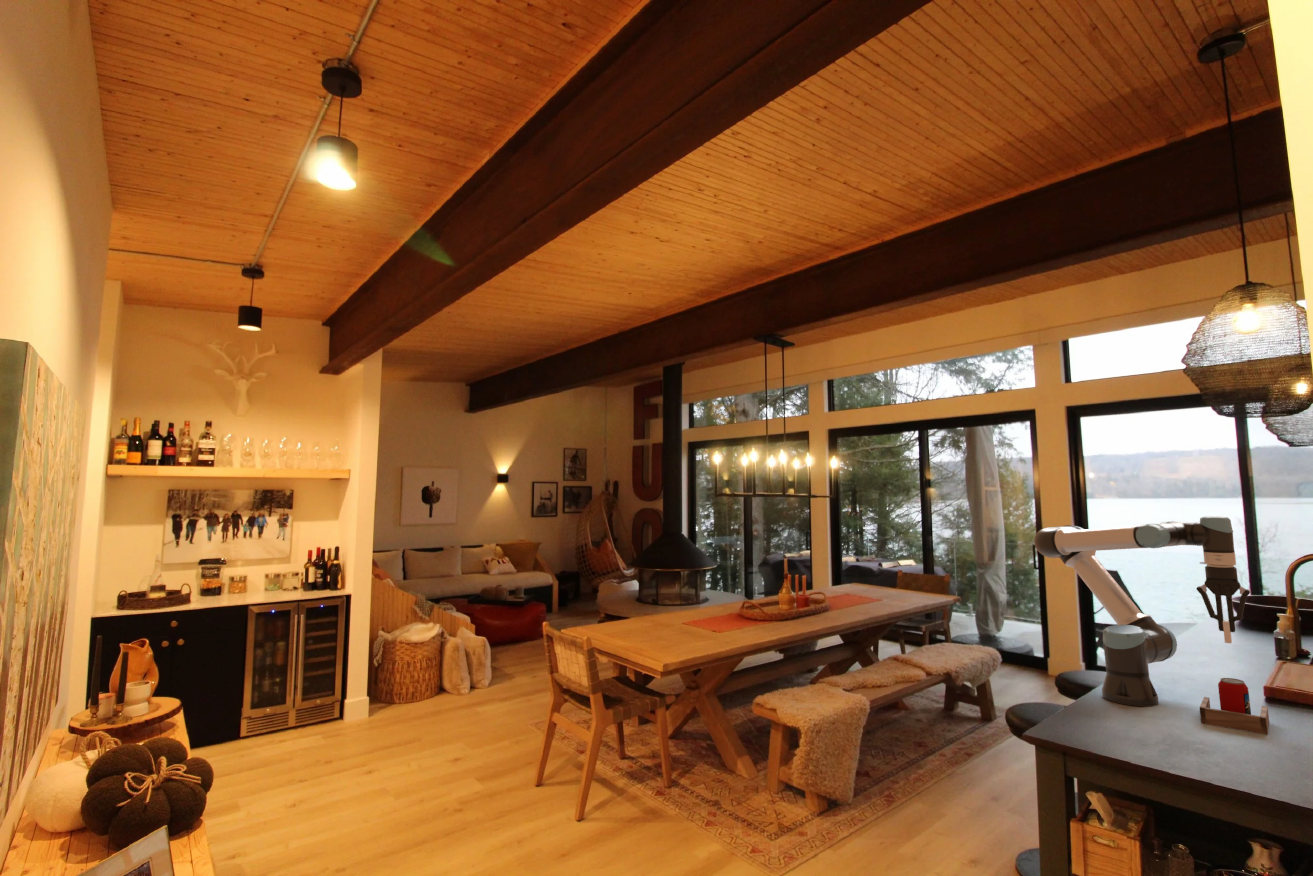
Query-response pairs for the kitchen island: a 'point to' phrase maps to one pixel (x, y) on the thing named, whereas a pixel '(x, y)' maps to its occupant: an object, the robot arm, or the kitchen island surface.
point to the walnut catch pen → (1234, 718)
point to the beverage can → (1234, 696)
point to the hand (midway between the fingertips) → (1228, 642)
